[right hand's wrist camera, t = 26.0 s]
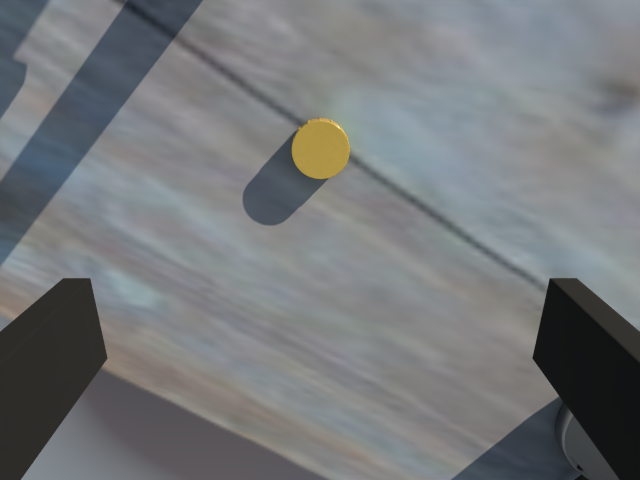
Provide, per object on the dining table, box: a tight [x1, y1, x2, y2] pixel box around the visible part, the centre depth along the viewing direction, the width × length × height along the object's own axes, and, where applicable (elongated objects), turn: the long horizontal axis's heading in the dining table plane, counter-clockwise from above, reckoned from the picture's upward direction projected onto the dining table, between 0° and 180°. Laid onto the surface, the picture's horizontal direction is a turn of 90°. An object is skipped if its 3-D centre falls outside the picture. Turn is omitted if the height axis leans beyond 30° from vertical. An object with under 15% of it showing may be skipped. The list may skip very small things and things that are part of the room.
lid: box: [291, 117, 350, 179], centre depth 37 cm, size 5×5×2 cm
